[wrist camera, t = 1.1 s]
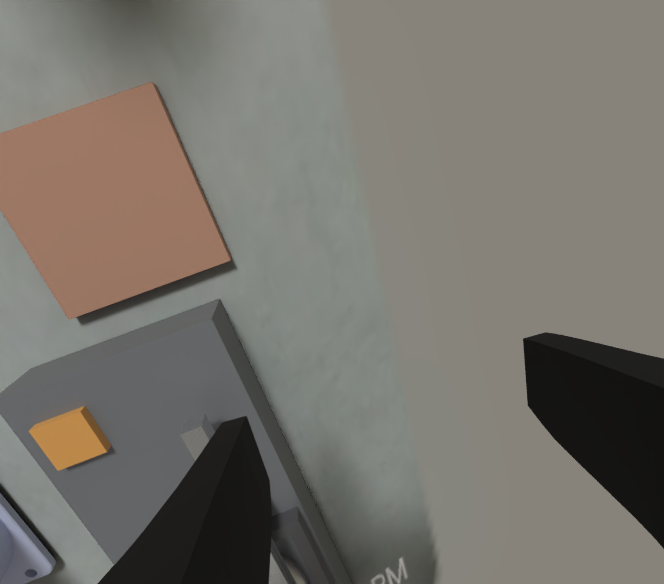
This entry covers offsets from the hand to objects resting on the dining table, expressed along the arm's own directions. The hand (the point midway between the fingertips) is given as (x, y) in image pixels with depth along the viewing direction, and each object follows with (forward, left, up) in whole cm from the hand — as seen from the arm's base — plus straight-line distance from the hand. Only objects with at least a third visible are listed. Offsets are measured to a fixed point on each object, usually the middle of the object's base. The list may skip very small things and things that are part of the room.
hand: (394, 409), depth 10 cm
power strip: (-9, -8, -9) cm, 15 cm away
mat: (-7, +7, -9) cm, 13 cm away
